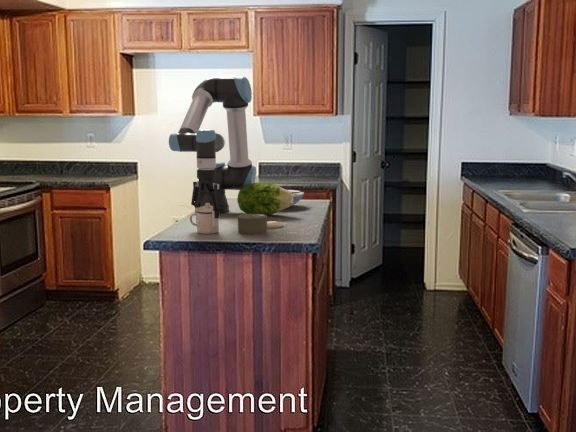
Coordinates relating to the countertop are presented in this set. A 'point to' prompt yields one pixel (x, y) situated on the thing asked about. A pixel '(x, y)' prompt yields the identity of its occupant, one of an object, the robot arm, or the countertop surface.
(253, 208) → the lettuce
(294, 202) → the ramen bowl
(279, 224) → the beech coaster
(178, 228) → the countertop surface
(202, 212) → the teacup with lid
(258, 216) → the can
